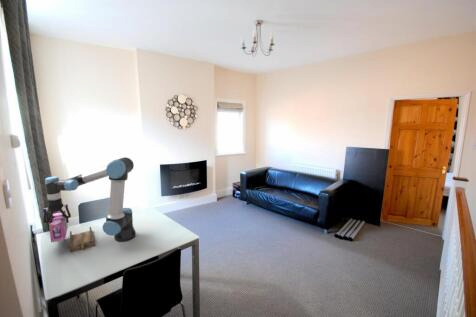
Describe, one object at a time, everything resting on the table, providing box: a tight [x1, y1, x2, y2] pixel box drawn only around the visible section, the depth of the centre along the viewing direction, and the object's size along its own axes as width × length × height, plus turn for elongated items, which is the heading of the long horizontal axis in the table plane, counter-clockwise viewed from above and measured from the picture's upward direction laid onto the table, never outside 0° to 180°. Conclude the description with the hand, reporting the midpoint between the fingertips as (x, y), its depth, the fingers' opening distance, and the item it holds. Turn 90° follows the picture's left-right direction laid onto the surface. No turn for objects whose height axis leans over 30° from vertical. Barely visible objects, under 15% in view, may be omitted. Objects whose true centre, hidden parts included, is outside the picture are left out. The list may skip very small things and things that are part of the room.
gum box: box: [48, 210, 69, 243], centre depth 164 cm, size 24×8×14 cm, turn 33°
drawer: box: [69, 226, 95, 252], centre depth 172 cm, size 14×29×8 cm, turn 36°
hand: (59, 228), depth 165 cm, fingers closed on gum box, 8 cm apart
